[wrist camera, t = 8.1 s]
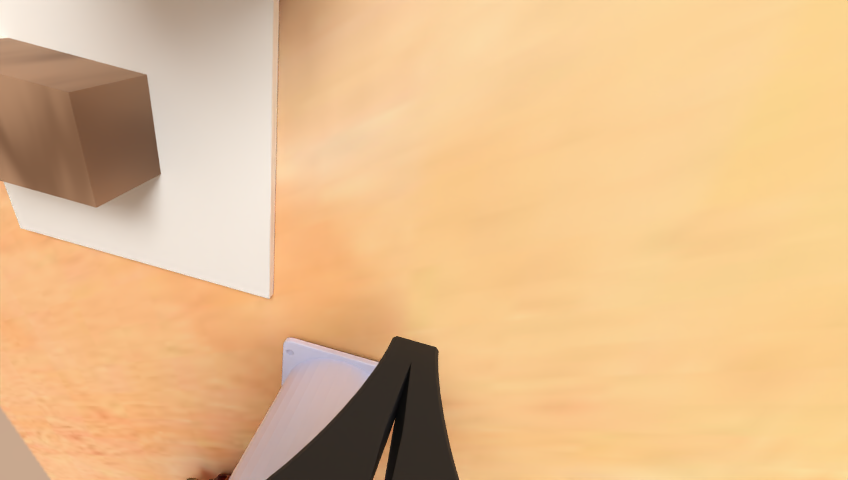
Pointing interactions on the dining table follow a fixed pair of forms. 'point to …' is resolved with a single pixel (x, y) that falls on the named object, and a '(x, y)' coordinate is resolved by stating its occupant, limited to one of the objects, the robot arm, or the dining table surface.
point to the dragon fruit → (221, 479)
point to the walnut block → (73, 125)
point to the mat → (176, 132)
